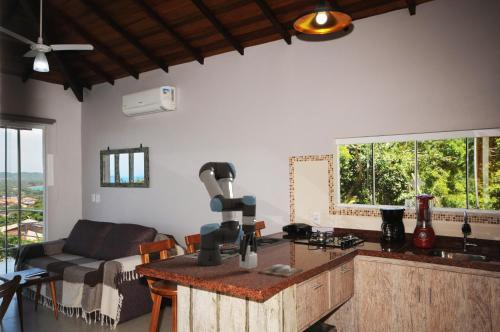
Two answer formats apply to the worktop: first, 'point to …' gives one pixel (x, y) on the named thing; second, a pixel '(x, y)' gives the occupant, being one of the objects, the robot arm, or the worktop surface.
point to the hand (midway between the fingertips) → (248, 265)
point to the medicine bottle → (249, 258)
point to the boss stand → (280, 270)
